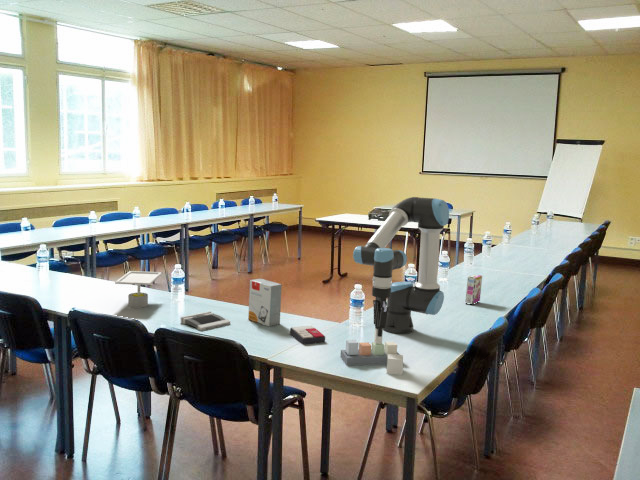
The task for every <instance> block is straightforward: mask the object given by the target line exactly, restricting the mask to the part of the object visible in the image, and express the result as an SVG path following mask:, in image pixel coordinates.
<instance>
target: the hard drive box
mask: <svg viewBox="0 0 640 480" xmlns="http://www.w3.org/2000/svg"><path fill="white" fill-rule="evenodd" d="M282 288H283V287H282V283H278V282H275V281H271V280H268V279H264V278H256V279H250V280H249V291H248V293H249V294H248V315H247V316H248V320H250V321H251V322H255V323H258V324H261V325H264V326H266V327H272V325H273V326H276V324H277V325H280V324H281V306H282V305H281V304H282Z"/></svg>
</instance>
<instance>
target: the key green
mask: <svg viewBox="0 0 640 480" xmlns="http://www.w3.org/2000/svg"><path fill="white" fill-rule="evenodd" d="M374 342H375V341H374ZM374 342H371V349H372V351H371V352H372V354H373V355H384V347H385V343H383V342H382V344H375V343H374Z"/></svg>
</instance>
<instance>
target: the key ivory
mask: <svg viewBox="0 0 640 480" xmlns="http://www.w3.org/2000/svg"><path fill="white" fill-rule="evenodd" d="M384 352H385V353H386V354H387V355H388V354H397V352H398V344H397V343H396V342H395V341H385V342H384Z"/></svg>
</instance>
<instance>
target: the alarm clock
mask: <svg viewBox="0 0 640 480" xmlns="http://www.w3.org/2000/svg"><path fill="white" fill-rule="evenodd" d="M180 324H182V325H189V326H192V327H194V328H196V329H197V330H198V331H201V332H202V331H208V330H212V329H217V328H220V327H225V326H228V325H231V320H229V319H227V318H224V317H223V316H221V315H218V314H216V313H214V312H212V311H206V312H205V311H204V312H200V313H195V314H194V313H193V314H190V315H185V316H180Z"/></svg>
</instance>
